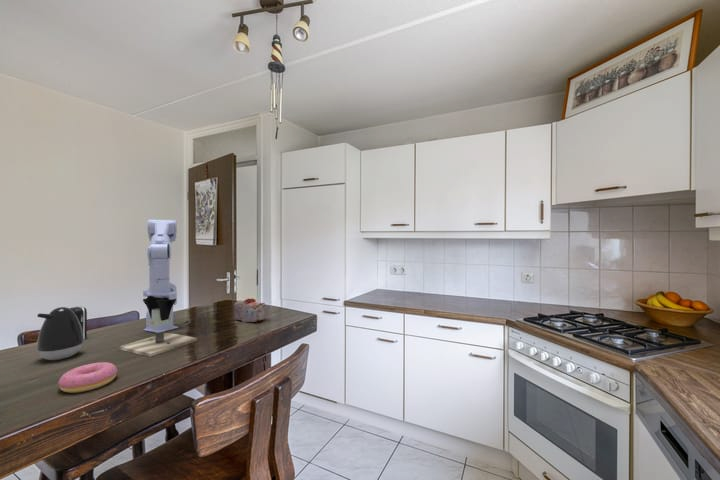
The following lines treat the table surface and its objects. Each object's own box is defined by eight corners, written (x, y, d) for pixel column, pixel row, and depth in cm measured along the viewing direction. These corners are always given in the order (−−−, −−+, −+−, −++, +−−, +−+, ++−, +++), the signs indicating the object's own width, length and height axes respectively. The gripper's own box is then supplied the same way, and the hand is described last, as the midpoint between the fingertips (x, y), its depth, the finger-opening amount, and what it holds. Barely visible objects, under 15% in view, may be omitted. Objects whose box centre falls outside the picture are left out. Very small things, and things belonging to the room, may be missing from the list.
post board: (119, 349, 99) (119, 337, 99) (167, 335, 113) (167, 324, 113) (150, 356, 92) (150, 343, 92) (197, 340, 107) (197, 329, 107)
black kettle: (27, 361, 89) (27, 309, 89) (71, 349, 99) (71, 302, 99) (48, 366, 86) (48, 312, 86) (91, 353, 95) (91, 305, 95)
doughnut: (48, 390, 72) (48, 372, 72) (102, 371, 82) (102, 356, 82) (72, 399, 68) (72, 381, 68) (127, 379, 78) (127, 363, 78)
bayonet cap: (145, 325, 101) (146, 310, 101) (164, 320, 107) (165, 306, 107) (155, 326, 99) (155, 311, 99) (173, 322, 105) (174, 307, 105)
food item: (267, 320, 135) (267, 298, 135) (254, 324, 127) (254, 301, 127) (244, 317, 140) (244, 295, 140) (230, 321, 133) (230, 299, 133)
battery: (65, 339, 109) (65, 307, 109) (78, 336, 112) (78, 305, 112) (73, 342, 106) (73, 309, 106) (87, 339, 109) (87, 307, 109)
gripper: (133, 279, 102) (133, 319, 102) (161, 281, 96) (161, 324, 96) (155, 276, 108) (155, 314, 108) (182, 278, 103) (182, 319, 103)
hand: (159, 319), depth 103 cm, fingers closed on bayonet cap, 5 cm apart
